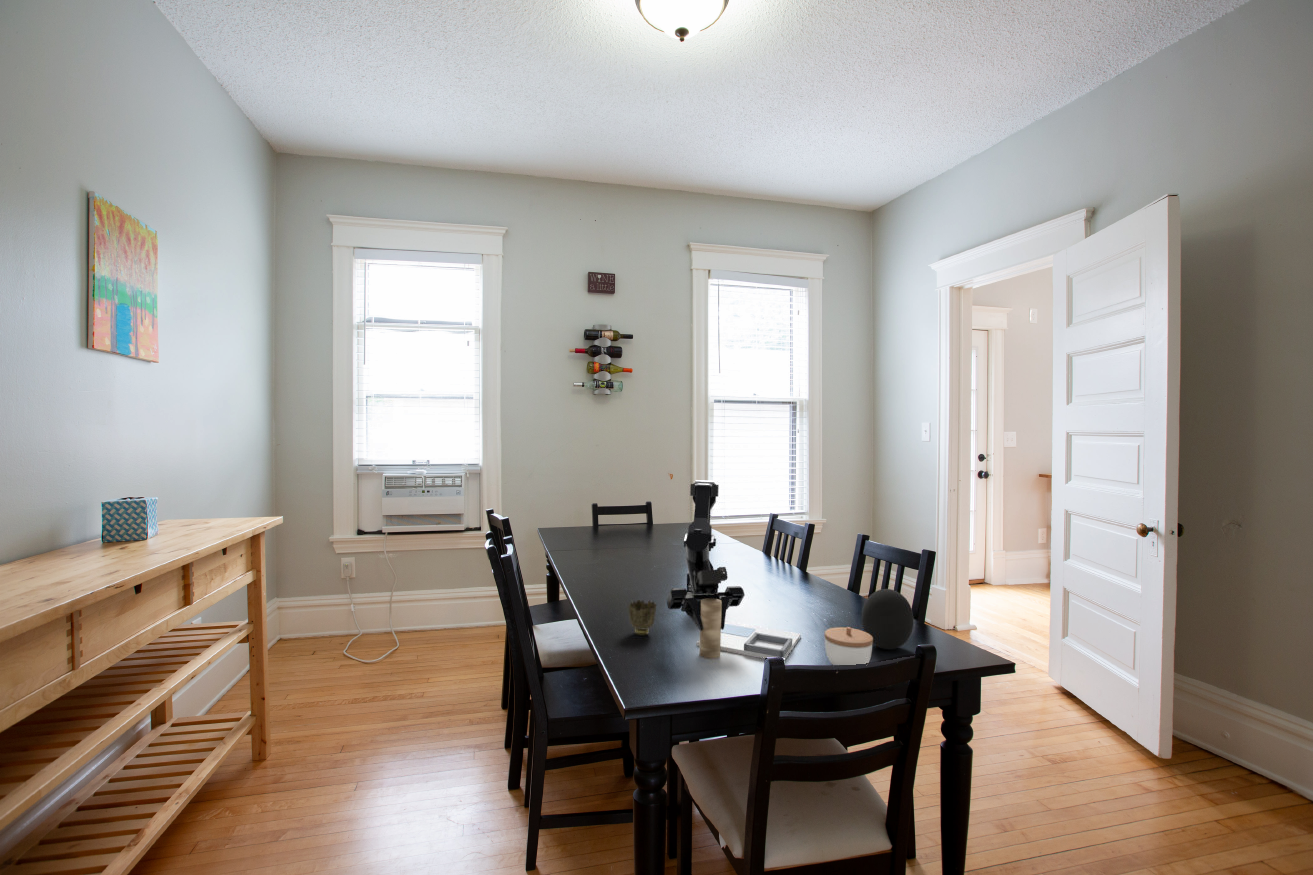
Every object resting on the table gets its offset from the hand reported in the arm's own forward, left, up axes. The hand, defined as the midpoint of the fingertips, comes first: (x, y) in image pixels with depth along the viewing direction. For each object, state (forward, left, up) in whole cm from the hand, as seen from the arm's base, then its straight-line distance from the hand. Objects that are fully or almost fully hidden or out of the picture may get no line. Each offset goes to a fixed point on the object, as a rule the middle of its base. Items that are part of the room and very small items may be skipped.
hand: (712, 629), depth 145 cm
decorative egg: (+37, +27, -7) cm, 46 cm away
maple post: (-1, +1, -7) cm, 7 cm away
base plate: (+5, +15, -7) cm, 17 cm away
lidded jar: (+30, +9, -7) cm, 32 cm away
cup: (-22, +6, -7) cm, 24 cm away
